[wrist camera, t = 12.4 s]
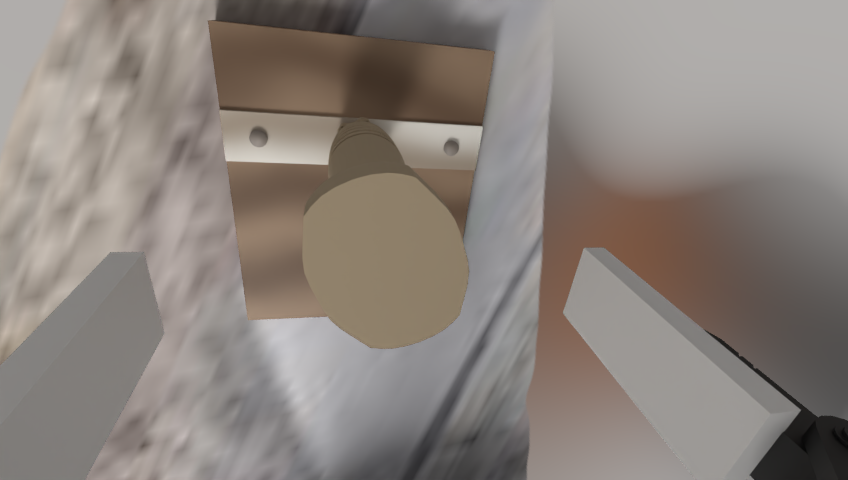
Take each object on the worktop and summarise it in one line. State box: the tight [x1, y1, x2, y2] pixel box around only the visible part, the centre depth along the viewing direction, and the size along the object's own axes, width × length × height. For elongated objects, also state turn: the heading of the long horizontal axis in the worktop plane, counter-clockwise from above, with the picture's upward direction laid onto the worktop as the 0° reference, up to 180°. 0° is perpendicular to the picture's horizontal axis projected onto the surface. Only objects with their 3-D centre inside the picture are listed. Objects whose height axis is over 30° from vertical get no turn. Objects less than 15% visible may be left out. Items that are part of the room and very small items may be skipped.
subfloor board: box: [208, 20, 495, 320], centre depth 28 cm, size 20×16×2 cm
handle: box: [302, 117, 469, 349], centre depth 19 cm, size 5×6×15 cm
